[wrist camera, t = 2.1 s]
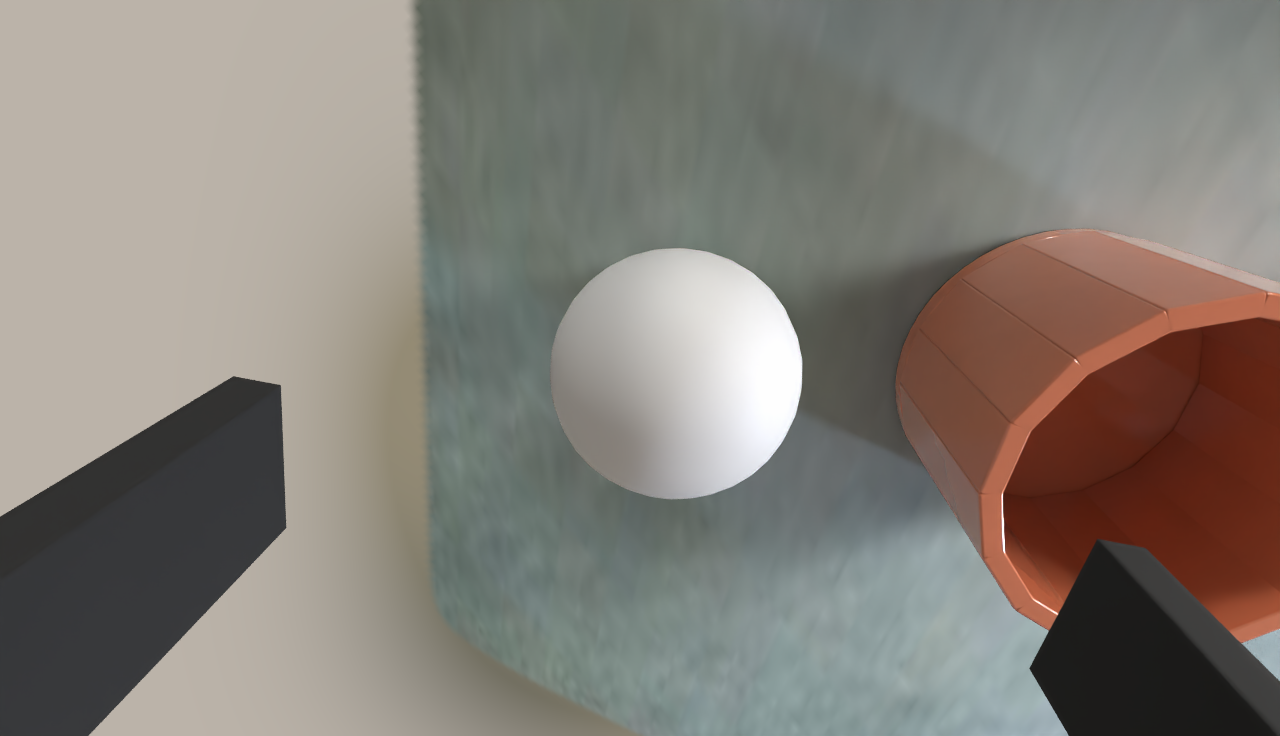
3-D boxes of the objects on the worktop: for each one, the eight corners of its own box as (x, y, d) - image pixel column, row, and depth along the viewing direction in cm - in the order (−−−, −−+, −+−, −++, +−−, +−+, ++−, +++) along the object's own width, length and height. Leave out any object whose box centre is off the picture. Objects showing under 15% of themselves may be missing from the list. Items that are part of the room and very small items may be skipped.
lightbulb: (775, 201, 23) (843, 293, 12) (758, 369, 25) (805, 562, 15) (594, 195, 23) (517, 279, 13) (594, 361, 25) (529, 544, 15)
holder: (842, 335, 24) (908, 443, 17) (1136, 163, 21) (1372, 201, 14) (970, 538, 27) (1075, 707, 20) (1245, 410, 24) (1489, 551, 17)
